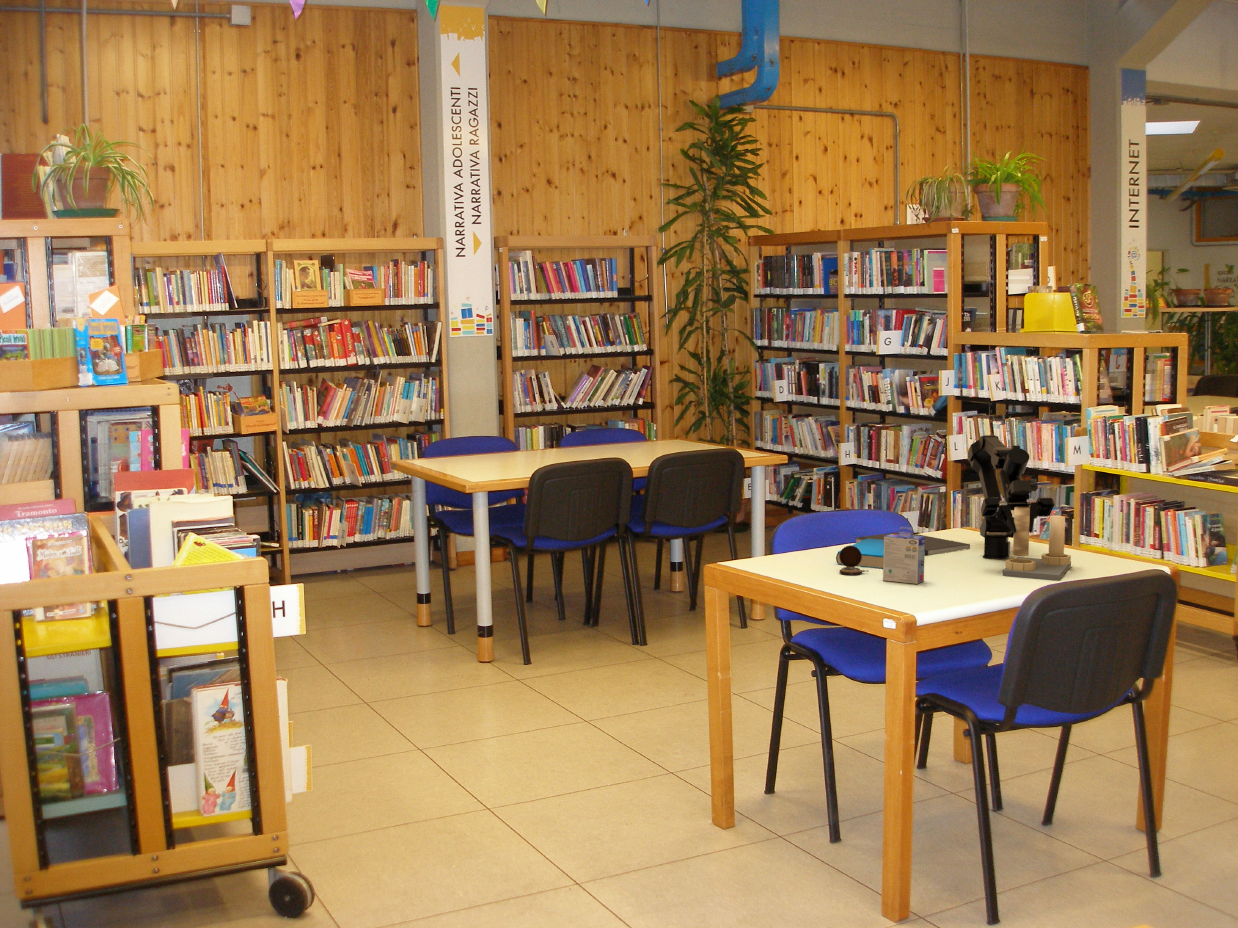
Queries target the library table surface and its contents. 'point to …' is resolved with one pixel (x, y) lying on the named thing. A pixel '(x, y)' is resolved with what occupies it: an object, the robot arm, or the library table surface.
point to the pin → (1021, 531)
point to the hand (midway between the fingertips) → (1023, 531)
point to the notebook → (928, 543)
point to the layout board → (1040, 571)
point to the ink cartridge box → (904, 557)
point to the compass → (851, 560)
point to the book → (869, 553)
